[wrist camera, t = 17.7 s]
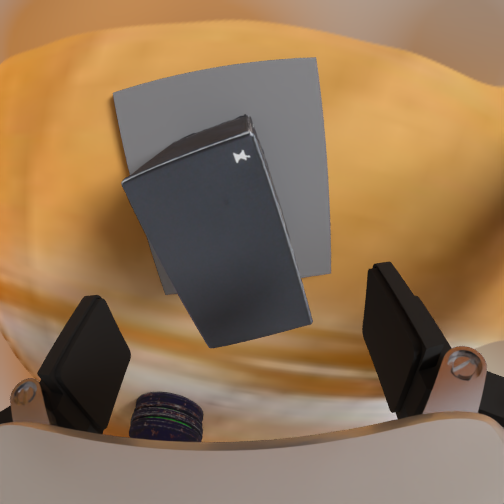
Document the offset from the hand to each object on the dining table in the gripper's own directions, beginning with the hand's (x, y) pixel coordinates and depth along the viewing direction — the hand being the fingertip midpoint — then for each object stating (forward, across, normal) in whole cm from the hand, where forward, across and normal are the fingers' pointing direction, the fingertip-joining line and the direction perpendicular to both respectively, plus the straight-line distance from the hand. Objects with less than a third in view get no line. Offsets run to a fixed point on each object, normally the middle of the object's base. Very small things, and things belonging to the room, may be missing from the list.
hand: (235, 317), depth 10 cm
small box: (+15, +1, 0) cm, 15 cm away
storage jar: (+15, +15, +29) cm, 36 cm away
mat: (+15, +1, 0) cm, 15 cm away
